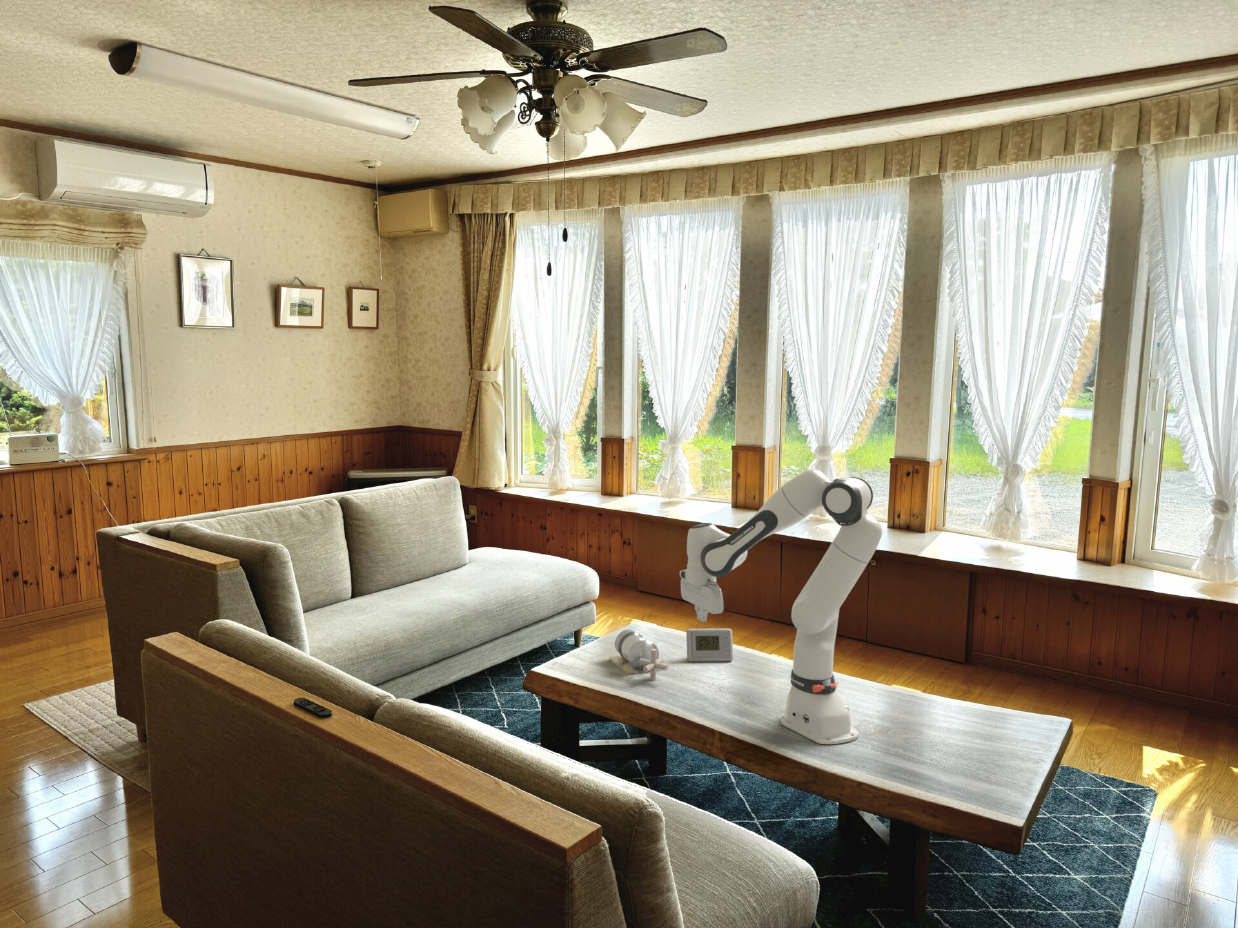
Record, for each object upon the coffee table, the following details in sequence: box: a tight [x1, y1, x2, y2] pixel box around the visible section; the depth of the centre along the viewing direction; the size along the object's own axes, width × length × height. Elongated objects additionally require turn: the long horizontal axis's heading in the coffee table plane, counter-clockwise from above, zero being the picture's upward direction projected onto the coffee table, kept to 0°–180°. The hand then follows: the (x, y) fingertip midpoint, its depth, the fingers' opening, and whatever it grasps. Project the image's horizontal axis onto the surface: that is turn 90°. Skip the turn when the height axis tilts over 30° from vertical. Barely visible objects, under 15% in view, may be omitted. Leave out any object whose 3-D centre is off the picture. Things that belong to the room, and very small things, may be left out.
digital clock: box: [685, 627, 734, 663], centre depth 287 cm, size 16×9×11 cm, turn 84°
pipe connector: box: [639, 649, 669, 681], centre depth 268 cm, size 10×10×10 cm
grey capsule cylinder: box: [608, 629, 662, 676], centre depth 280 cm, size 14×13×11 cm
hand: (701, 620), depth 255 cm, fingers closed
